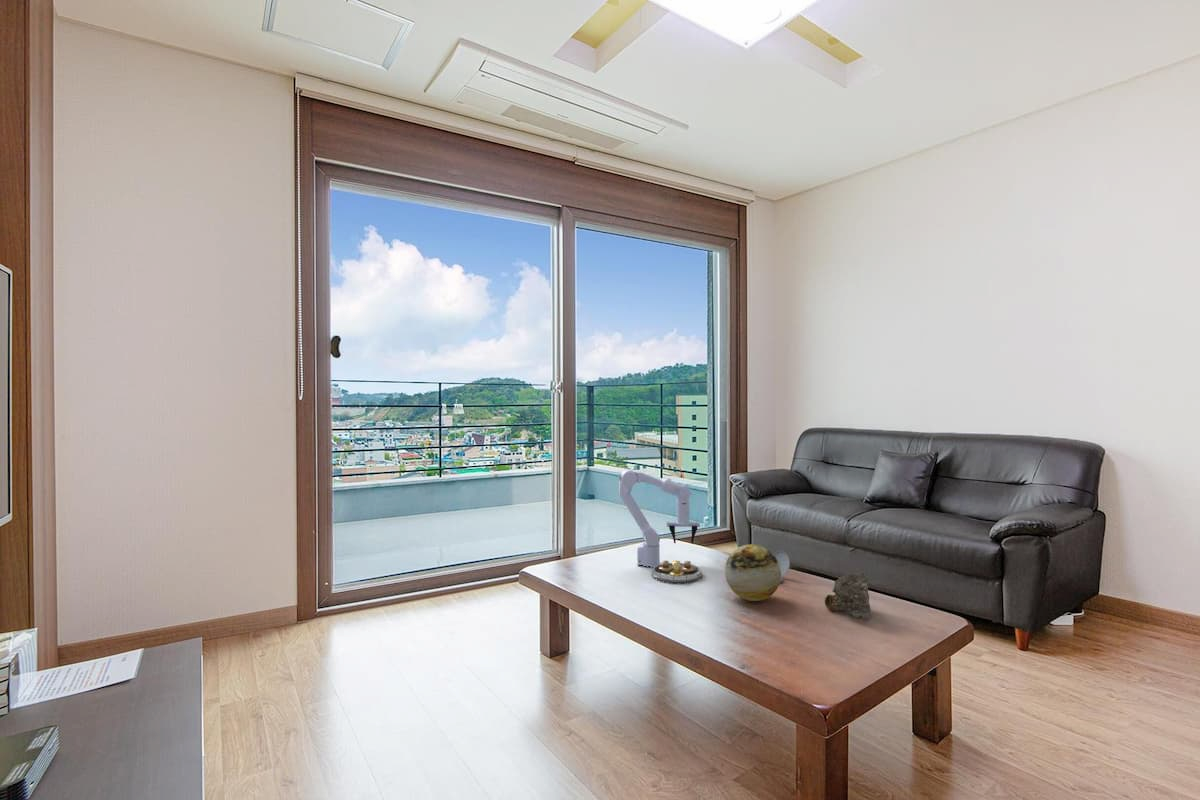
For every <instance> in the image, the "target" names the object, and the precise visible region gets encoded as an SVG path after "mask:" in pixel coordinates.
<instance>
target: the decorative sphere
mask: <svg viewBox="0 0 1200 800" xmlns="http://www.w3.org/2000/svg"><path fill="white" fill-rule="evenodd" d="M773 554H774V553H773V552H771V550H770V549H768V548H767V547H764V546H762V545H759V544H755V543H754V544H752V543H750V544H744V545H740V546H739V547H736V549H734V550H733V551H732V552H731V553H730V554H729V556H728V557H727V560H726V563H725V566H724V576H725V578H726V582H727V584H728V587H729V588H730V590H731V591H732V592H733V593H734V594H735V595H736V596H738V597H739V598H741V599H744V600H745V601H750V602H761V601H764V600H766V599H768V598H770V597H771V596H773V595H774V593H776V591H777V590H778V588H779V586H780V583H781V582H780V580H781V577H782V575H781V569H780V565H779V563H778V561H777V559H776V557H775V556H774V555H773Z"/></svg>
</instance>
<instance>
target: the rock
mask: <svg viewBox="0 0 1200 800" xmlns="http://www.w3.org/2000/svg"><path fill="white" fill-rule="evenodd" d="M833 585H834V586H833V588H832V593H834V594H827V595H826V597H825V598H824V605H825V608H827V610H828V611H831V612H835V611H841V612H846V614H848V615H849V616H852V617H853V618H856V619H859V618H860V617H861V618H863V619H866V620H869V619H871V617H873V616H872V615H873V614H872V613H873V612H872V609H871V605H870V595H869V594H870V593H869V587H868V578H867V576H866V575H865V574H864V573H859V572H858V573H857V572H849V573H845V575H841V577H838V579H836V580H834V584H833Z"/></svg>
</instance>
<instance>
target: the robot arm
mask: <svg viewBox="0 0 1200 800" xmlns="http://www.w3.org/2000/svg"><path fill="white" fill-rule="evenodd" d="M636 483H637V484H639V483H646V484H647V483H648V484H650V485H652V486H656V487H658V488H659V489H660V491H661V492H664V493H666V494H668V495H669V494H670V495H672V496H676V502H675V503H676V520H675V521H673V520H672V521H666V527H667V528H668V529H669V531H670V533H671V536H672V539H673V543H674V544H676V527H682V528H683V527H686V528H687V527H690V528H691V540H690V541H691V542H690V543H691V544H694V539H695V537H696V533H697V531H698V528H700V527H701V523H700V521H691V517H690V514H691V513H690V497H691V493H692V492H691V489H690V488H689V487H688V486H686V485H684V484H683V483H681V482H675V480H674V481H673V480H672V479H671V478H664V479H660V478H657V477H654V476H652V475H650V474H647V473H645V472H643V471H639V470H635V469H634V470H633V469H631V468H624V469H623V470H621V472H620V475H619V478H618V494H619V497H620V498H621V500H622V501H623V503H624V504H625V506H626V508H627V510H628V511H629V513H630V514H631V516H632V517H633V519H634V521H635V522H636V524H637V526H638V527H639V529H640V530H641V533H642V538H643V539H644V541H643V543H640V544H639V545H638V546H637V551H636V552H637V553H636V554H637V559H636V560H637V564H636V566H637V565H643V566H642V567H644V566H650V567H649V568H652V567H654V566H656V565H659V564H663V563H662V561H660V560H661V558H660V557H661V556H660V553H661V552H660V551H661V549H660V541H661V537H660V535H659V534H658V532H657V531H656V529H654V528H653V527H652V526H651V525H650V523H649V521H648V519H647V518H646V516H645V514H644V513H643V511H642V510H641V508H640V506H639V505H638V504H637V502H636V500H635V498H634V497H633V495H632V493H631V492H632V488H633V486H634V485H635V484H636Z"/></svg>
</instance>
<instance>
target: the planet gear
mask: <svg viewBox="0 0 1200 800" xmlns="http://www.w3.org/2000/svg"><path fill="white" fill-rule="evenodd" d="M671 563H673V571H672V572H669V575H671V576H684V572H681V568H680V563H681V560H673V561H672V562H671Z"/></svg>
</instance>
